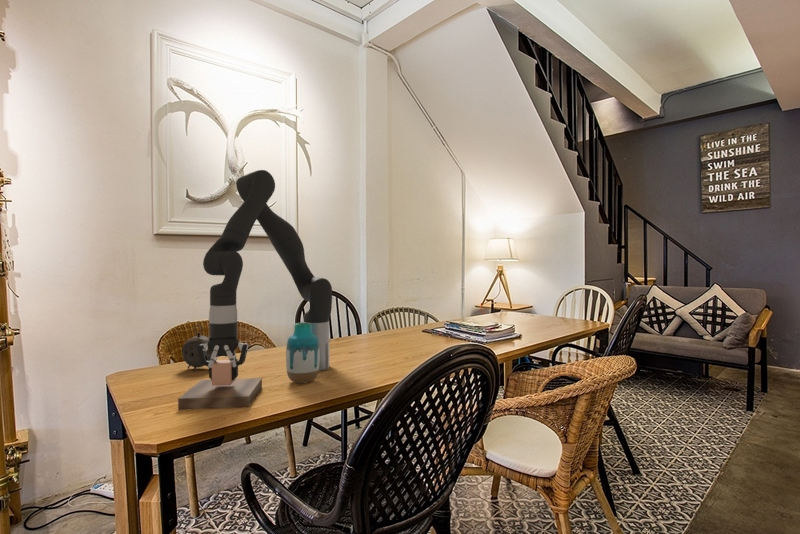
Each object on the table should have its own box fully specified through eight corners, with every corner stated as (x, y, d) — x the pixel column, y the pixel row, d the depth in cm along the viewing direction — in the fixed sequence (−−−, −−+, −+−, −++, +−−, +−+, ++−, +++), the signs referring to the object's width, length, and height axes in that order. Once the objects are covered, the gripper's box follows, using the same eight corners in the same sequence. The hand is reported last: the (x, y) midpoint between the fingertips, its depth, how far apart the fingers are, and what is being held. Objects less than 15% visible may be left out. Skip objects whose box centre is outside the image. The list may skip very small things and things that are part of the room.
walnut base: (261, 387, 135) (261, 378, 134) (248, 407, 117) (248, 396, 117) (201, 389, 132) (201, 379, 132) (178, 409, 114) (178, 398, 114)
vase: (308, 376, 148) (308, 320, 148) (325, 382, 141) (326, 323, 141) (279, 382, 141) (280, 323, 141) (297, 389, 133) (297, 327, 133)
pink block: (234, 380, 127) (234, 359, 127) (230, 385, 122) (230, 364, 122) (217, 380, 127) (217, 360, 127) (211, 385, 122) (211, 364, 122)
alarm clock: (216, 368, 158) (216, 323, 158) (208, 372, 153) (208, 326, 153) (188, 367, 159) (188, 323, 159) (179, 371, 154) (179, 325, 154)
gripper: (252, 318, 129) (252, 375, 129) (201, 319, 127) (201, 376, 127) (246, 322, 121) (246, 382, 122) (192, 322, 120) (192, 384, 120)
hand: (223, 379), depth 124 cm, fingers closed on pink block, 5 cm apart
